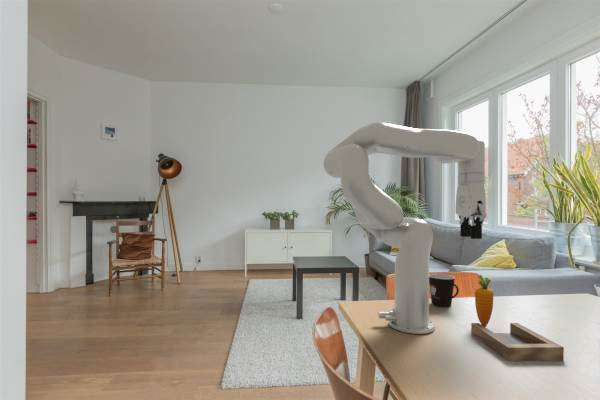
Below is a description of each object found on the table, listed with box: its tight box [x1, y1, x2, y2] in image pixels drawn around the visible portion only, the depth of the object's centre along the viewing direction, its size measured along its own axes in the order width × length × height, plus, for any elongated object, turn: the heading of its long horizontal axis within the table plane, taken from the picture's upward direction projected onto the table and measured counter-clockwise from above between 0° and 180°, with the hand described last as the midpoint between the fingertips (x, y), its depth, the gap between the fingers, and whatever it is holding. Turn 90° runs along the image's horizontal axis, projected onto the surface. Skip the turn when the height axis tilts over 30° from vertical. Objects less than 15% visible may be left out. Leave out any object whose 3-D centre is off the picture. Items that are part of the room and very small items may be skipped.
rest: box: [470, 322, 565, 362], centre depth 87 cm, size 13×16×3 cm
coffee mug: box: [429, 273, 460, 308], centre depth 121 cm, size 12×9×10 cm
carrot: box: [474, 274, 494, 328], centre depth 100 cm, size 5×5×15 cm
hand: (470, 237), depth 108 cm, fingers open, 5 cm apart
